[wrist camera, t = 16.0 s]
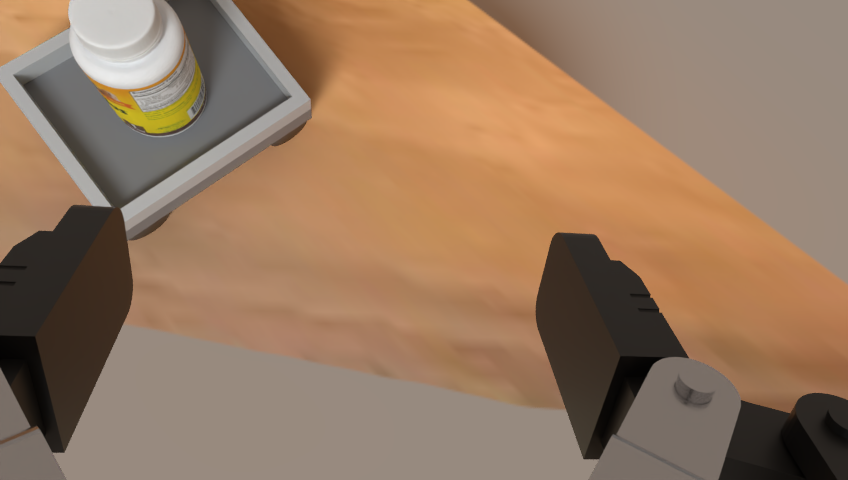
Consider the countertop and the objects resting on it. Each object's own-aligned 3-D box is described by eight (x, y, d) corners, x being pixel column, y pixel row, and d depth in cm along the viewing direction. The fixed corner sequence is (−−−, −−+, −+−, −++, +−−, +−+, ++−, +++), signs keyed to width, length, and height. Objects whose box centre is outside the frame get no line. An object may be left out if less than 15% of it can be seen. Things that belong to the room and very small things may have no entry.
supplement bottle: (102, 76, 42) (31, -22, 32) (188, 46, 43) (146, -57, 33) (135, 155, 41) (73, 80, 31) (222, 122, 42) (190, 39, 32)
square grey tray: (139, 251, 44) (111, 230, 38) (34, 111, 45) (-8, 71, 39) (312, 134, 47) (310, 99, 42) (211, 6, 48) (196, -45, 43)
